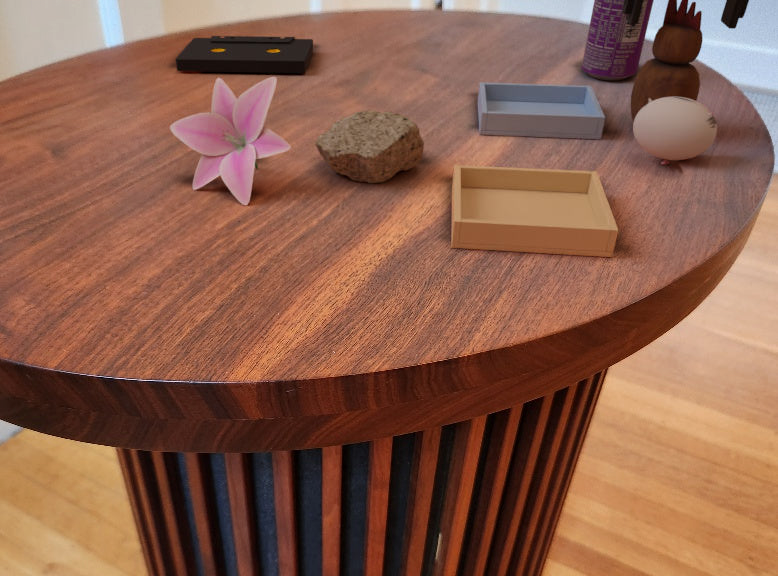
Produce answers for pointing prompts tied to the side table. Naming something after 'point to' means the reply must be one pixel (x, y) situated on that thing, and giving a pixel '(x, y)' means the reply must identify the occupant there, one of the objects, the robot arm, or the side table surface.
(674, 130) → the beige smooth oval piece
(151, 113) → the side table surface
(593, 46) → the beverage can
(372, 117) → the rock
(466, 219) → the birch tray
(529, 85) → the blue tray
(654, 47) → the wooden figurine
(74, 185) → the side table surface
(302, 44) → the cassette tape
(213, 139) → the lily
